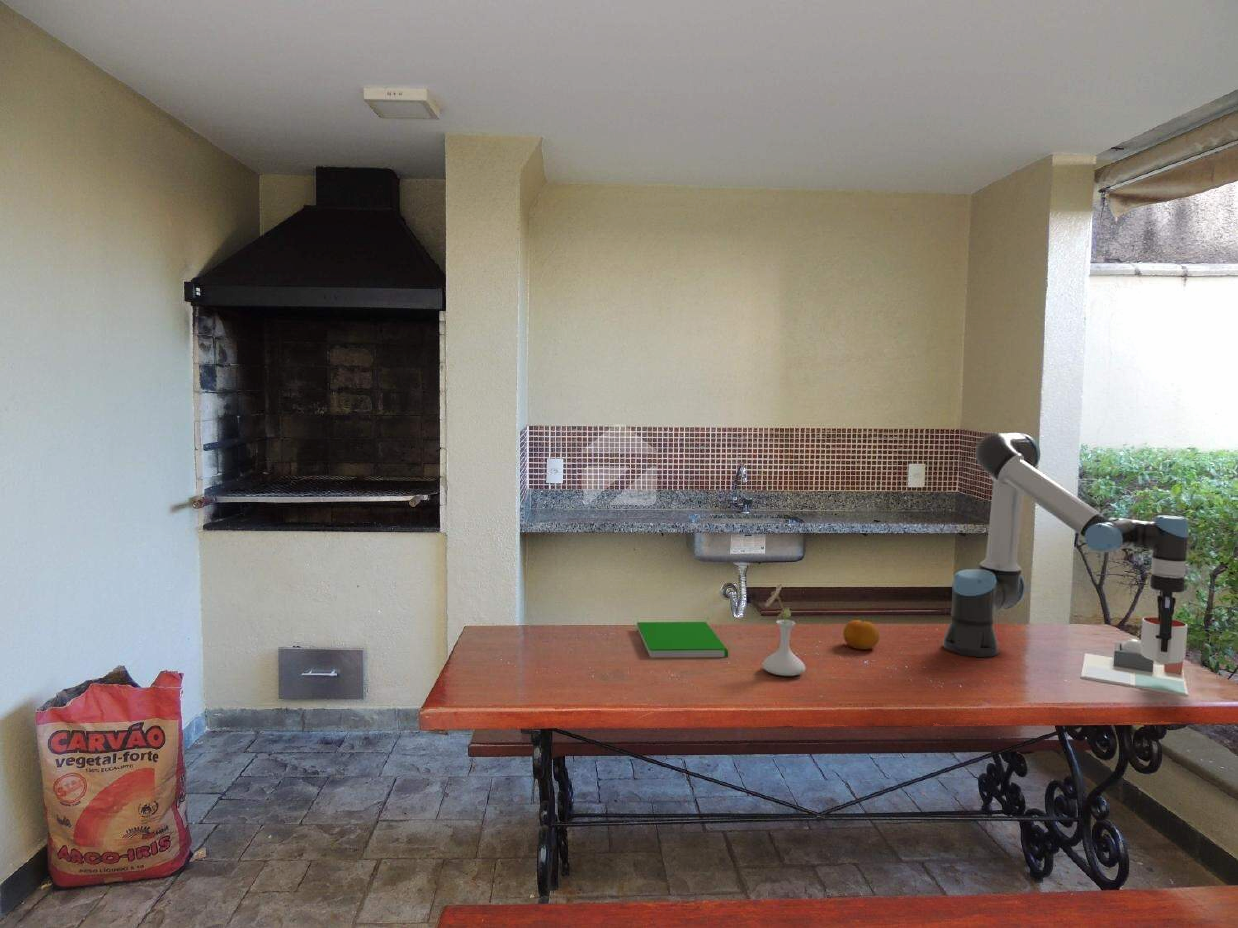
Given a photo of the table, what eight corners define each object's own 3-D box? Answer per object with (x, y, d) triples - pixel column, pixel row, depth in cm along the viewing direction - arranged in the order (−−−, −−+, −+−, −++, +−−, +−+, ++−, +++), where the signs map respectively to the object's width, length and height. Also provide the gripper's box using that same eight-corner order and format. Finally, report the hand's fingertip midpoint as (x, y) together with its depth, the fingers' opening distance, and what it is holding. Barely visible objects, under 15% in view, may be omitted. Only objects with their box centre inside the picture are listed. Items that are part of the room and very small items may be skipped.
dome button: (1120, 662, 238) (1122, 640, 238) (1120, 657, 243) (1122, 635, 243) (1145, 666, 235) (1147, 643, 235) (1145, 661, 240) (1147, 638, 240)
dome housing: (1113, 665, 238) (1114, 650, 237) (1113, 657, 246) (1115, 642, 245) (1152, 672, 233) (1154, 656, 233) (1151, 663, 241) (1153, 648, 241)
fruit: (883, 646, 253) (884, 620, 253) (873, 654, 244) (874, 627, 244) (848, 640, 259) (850, 614, 258) (837, 648, 250) (839, 621, 249)
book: (649, 659, 236) (649, 649, 236) (636, 631, 264) (637, 622, 264) (728, 658, 239) (728, 648, 238) (707, 631, 266) (707, 621, 266)
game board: (1081, 677, 228) (1082, 660, 228) (1085, 654, 249) (1086, 638, 249) (1187, 696, 216) (1189, 677, 215) (1182, 670, 237) (1183, 653, 237)
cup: (1191, 666, 217) (1194, 628, 216) (1148, 663, 219) (1151, 625, 218) (1174, 654, 227) (1177, 618, 226) (1133, 651, 229) (1136, 615, 228)
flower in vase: (778, 663, 234) (781, 574, 232) (813, 673, 226) (817, 581, 224) (749, 673, 225) (753, 580, 223) (785, 684, 217) (789, 588, 215)
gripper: (1187, 584, 210) (1181, 672, 211) (1182, 569, 229) (1176, 650, 231) (1152, 580, 213) (1146, 666, 215) (1150, 566, 233) (1144, 645, 234)
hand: (1162, 658), depth 223 cm, fingers closed on cup, 10 cm apart
